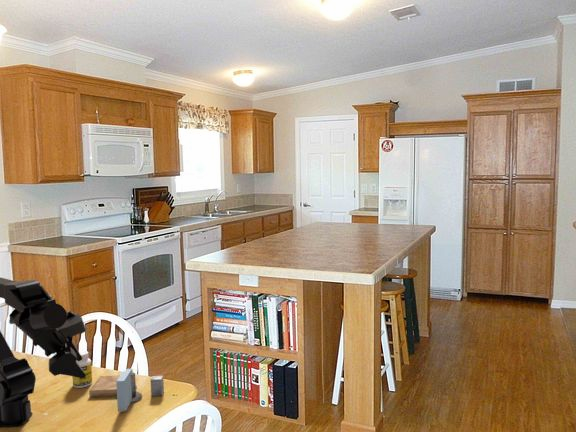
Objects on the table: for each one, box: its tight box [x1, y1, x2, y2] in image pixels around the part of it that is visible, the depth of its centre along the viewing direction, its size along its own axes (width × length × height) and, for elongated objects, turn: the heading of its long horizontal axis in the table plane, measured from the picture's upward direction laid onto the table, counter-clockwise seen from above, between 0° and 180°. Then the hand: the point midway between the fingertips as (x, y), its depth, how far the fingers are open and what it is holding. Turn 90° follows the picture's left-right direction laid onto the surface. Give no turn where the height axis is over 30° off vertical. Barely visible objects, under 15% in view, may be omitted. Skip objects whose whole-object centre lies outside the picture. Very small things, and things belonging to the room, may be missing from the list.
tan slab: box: [88, 372, 143, 404], centre depth 144 cm, size 15×15×7 cm
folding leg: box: [116, 368, 134, 412], centre depth 136 cm, size 9×2×8 cm, turn 3°
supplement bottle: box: [71, 350, 93, 389], centre depth 150 cm, size 5×5×10 cm
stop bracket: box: [150, 375, 165, 398], centre depth 142 cm, size 3×2×5 cm
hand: (82, 368), depth 129 cm, fingers open, 9 cm apart
